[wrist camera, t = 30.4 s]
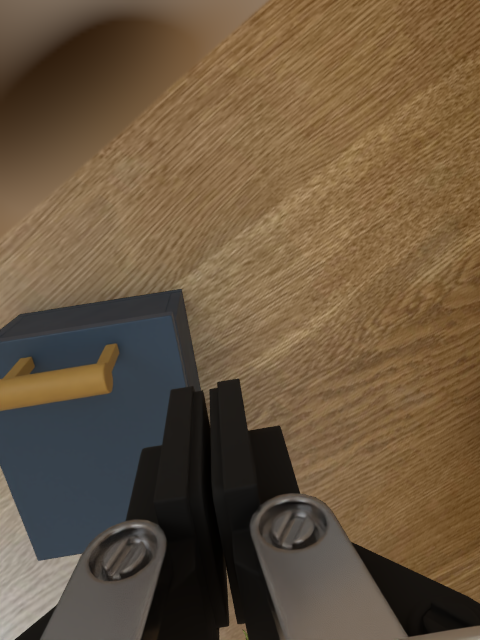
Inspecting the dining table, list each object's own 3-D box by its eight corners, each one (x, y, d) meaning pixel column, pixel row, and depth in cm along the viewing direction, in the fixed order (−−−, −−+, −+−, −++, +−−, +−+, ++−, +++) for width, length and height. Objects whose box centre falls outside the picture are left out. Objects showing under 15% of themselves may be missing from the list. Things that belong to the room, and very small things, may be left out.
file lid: (-40, 344, 27) (-96, 388, 22) (172, 310, 27) (166, 346, 22) (41, 552, 33) (12, 625, 28) (215, 522, 33) (218, 589, 28)
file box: (19, 314, 35) (-30, 352, 28) (181, 288, 36) (175, 319, 28) (71, 481, 40) (41, 551, 33) (213, 457, 40) (215, 522, 33)
